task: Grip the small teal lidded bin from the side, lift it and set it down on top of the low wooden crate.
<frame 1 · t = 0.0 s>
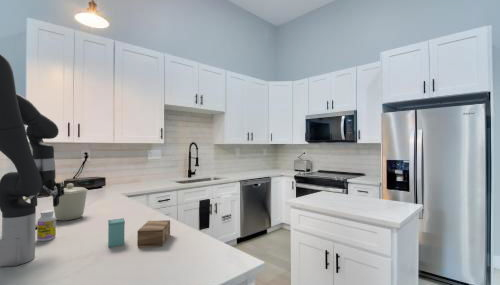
hand: (45, 206, 106), 17 cm above the counter, tool pointing down, fingers open, 8 cm apart
wooden crate: (154, 240, 112), on the counter
canister: (69, 218, 148), on the counter
supplement bottle: (46, 239, 114), on the counter
flower in vase: (29, 228, 130), on the counter
teal lidded bin: (116, 243, 109), on the counter
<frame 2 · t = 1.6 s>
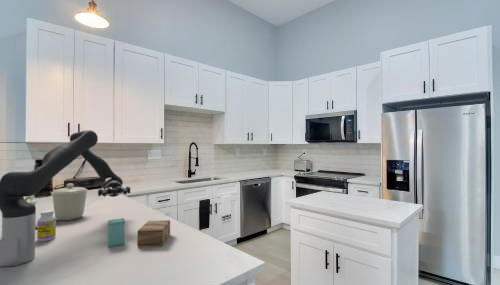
hand: (115, 193, 119), 20 cm above the counter, tool horizontal, fingers open, 8 cm apart
nothing on the counter moved.
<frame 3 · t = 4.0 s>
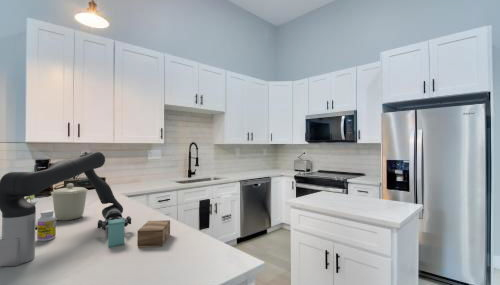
hand: (115, 226, 114), 6 cm above the counter, tool horizontal, fingers open, 8 cm apart
nothing on the counter moved.
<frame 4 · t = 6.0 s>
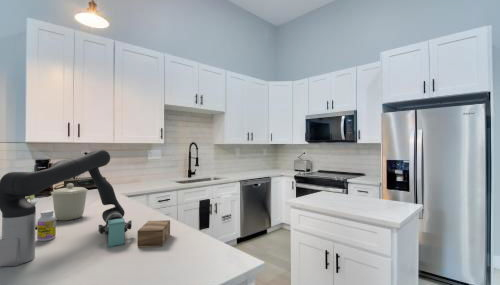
hand: (116, 231, 107), 6 cm above the counter, tool horizontal, fingers closed on teal lidded bin, 6 cm apart
teal lidded bin: (116, 243, 109), on the counter, touching gripper
everything else where it was.
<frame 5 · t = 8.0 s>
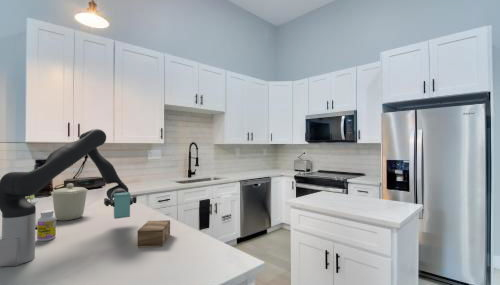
hand: (122, 203, 108), 18 cm above the counter, tool horizontal, fingers closed on teal lidded bin, 6 cm apart
teal lidded bin: (121, 216, 110), point 12 cm above the counter, touching gripper
everything else where it was.
when the fingers open (14 cm above the counter, at t = 10.0 s): teal lidded bin drops 1 cm, resting on wooden crate.
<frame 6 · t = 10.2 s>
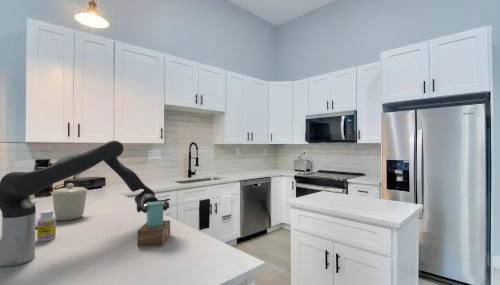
hand: (155, 209, 111), 15 cm above the counter, tool horizontal, fingers open, 8 cm apart
teal lidded bin: (154, 225, 112), point 7 cm above the counter, touching wooden crate
everything else where it was.
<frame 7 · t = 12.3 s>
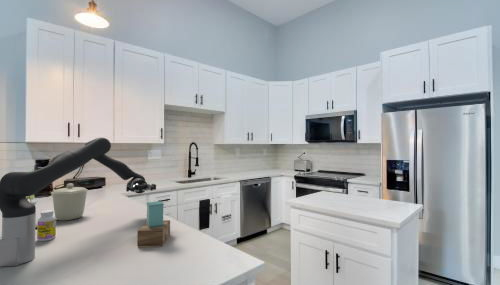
hand: (142, 189, 123), 22 cm above the counter, tool horizontal, fingers open, 8 cm apart
nothing on the counter moved.
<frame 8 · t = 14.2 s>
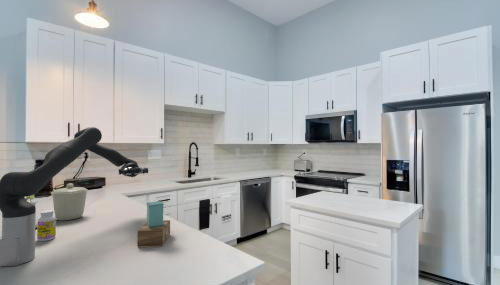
hand: (135, 172, 126), 30 cm above the counter, tool horizontal, fingers open, 8 cm apart
nothing on the counter moved.
at the end: teal lidded bin inside the target area on the wooden crate (0.1 cm from its centre), point 7.0 cm above the wooden crate's base; teal lidded bin tilted 0°; the gripper is holding nothing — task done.
